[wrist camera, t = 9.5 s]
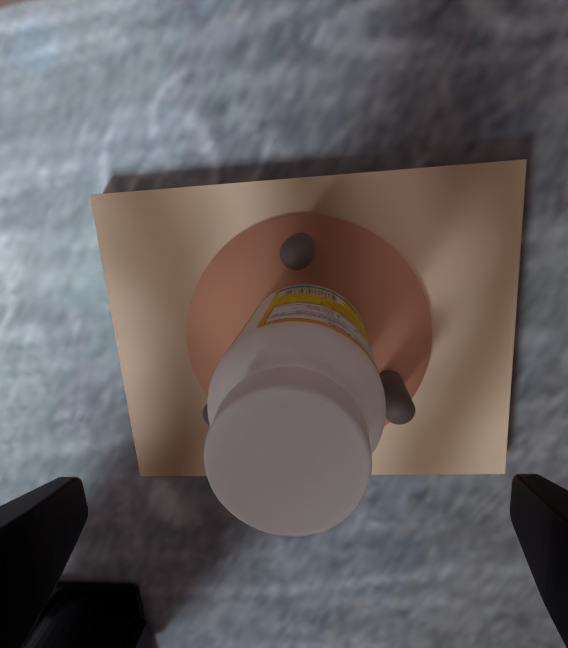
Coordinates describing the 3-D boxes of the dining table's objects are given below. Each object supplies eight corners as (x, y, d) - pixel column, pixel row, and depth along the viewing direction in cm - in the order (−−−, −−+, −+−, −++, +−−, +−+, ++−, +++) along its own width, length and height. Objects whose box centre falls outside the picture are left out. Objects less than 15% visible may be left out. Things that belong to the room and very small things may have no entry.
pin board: (147, 465, 23) (112, 516, 19) (101, 195, 19) (46, 192, 16) (496, 461, 21) (535, 518, 17) (515, 161, 18) (569, 148, 14)
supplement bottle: (322, 258, 18) (321, 309, 9) (389, 358, 19) (451, 499, 10) (222, 325, 19) (129, 432, 10) (289, 416, 20) (260, 592, 11)
